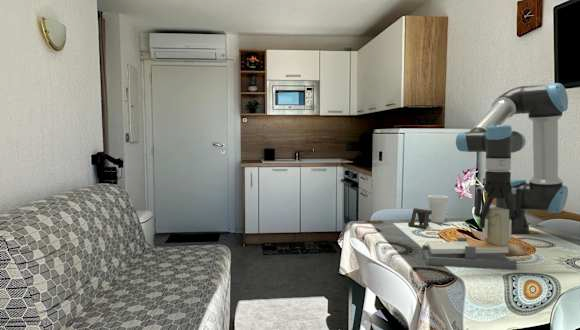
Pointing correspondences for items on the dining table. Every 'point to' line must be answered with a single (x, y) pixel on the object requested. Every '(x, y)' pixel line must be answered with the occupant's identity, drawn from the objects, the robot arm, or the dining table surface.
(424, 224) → the portable electronic device stand
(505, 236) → the skincare box
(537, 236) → the dining table surface
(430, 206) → the foam cup
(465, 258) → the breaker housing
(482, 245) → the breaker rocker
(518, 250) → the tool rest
